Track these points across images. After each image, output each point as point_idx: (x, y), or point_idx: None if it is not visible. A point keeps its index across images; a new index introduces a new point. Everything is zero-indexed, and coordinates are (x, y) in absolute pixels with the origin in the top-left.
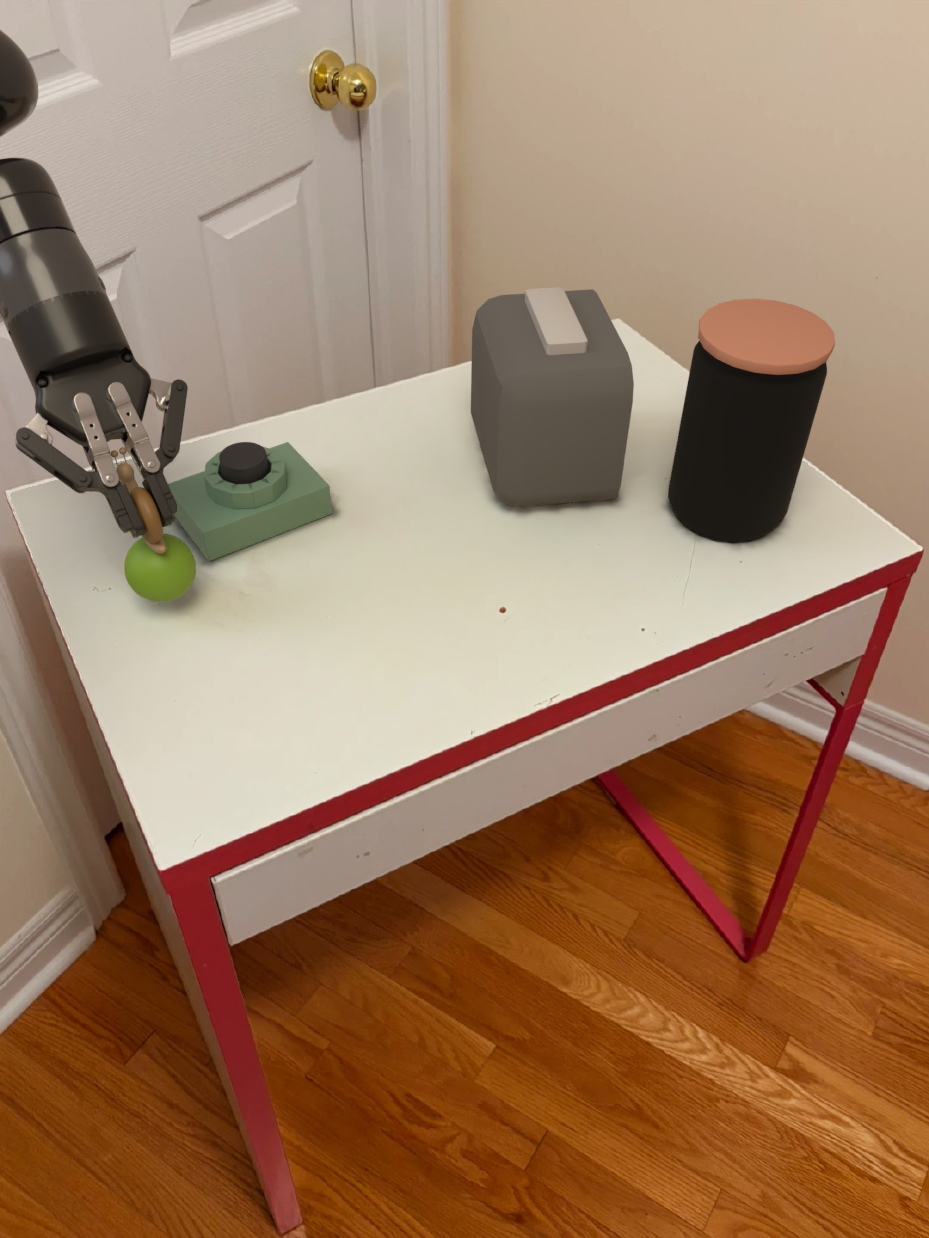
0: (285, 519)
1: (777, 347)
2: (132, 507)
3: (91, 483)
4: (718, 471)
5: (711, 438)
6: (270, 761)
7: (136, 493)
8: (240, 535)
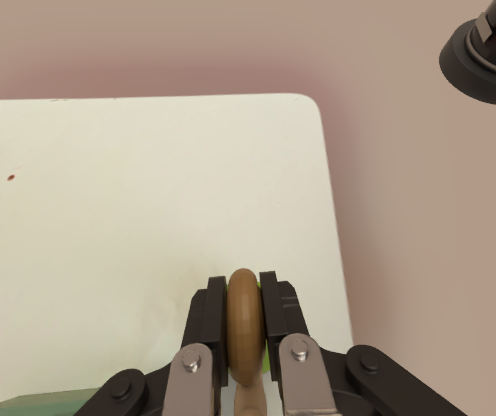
0: (70, 394)
1: None
2: (268, 296)
3: (344, 363)
4: None
5: None
6: (235, 128)
7: (251, 325)
8: None
